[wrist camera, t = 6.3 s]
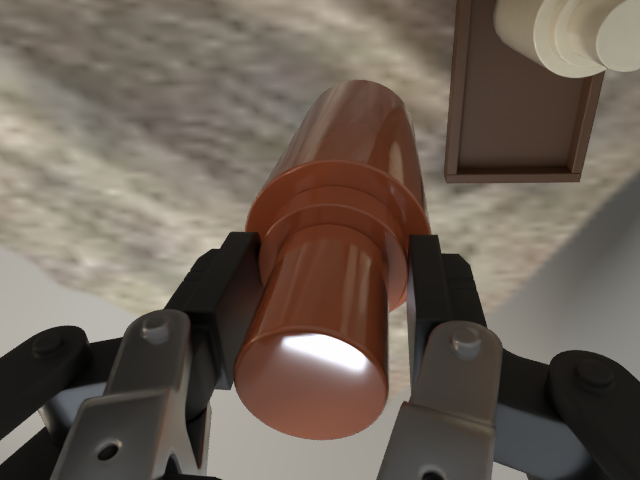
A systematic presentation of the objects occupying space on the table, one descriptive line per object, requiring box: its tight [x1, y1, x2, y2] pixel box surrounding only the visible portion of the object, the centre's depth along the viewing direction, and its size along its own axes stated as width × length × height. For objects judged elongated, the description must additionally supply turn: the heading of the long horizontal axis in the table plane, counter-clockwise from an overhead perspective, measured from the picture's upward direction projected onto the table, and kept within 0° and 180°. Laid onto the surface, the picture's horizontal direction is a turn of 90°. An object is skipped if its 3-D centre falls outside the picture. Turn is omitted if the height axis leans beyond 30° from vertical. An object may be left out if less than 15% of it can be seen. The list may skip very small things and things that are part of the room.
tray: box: [444, 0, 605, 183], centre depth 33 cm, size 26×11×2 cm, turn 4°
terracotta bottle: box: [233, 80, 432, 440], centre depth 16 cm, size 5×5×16 cm
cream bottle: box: [493, 0, 640, 78], centre depth 26 cm, size 5×5×16 cm
